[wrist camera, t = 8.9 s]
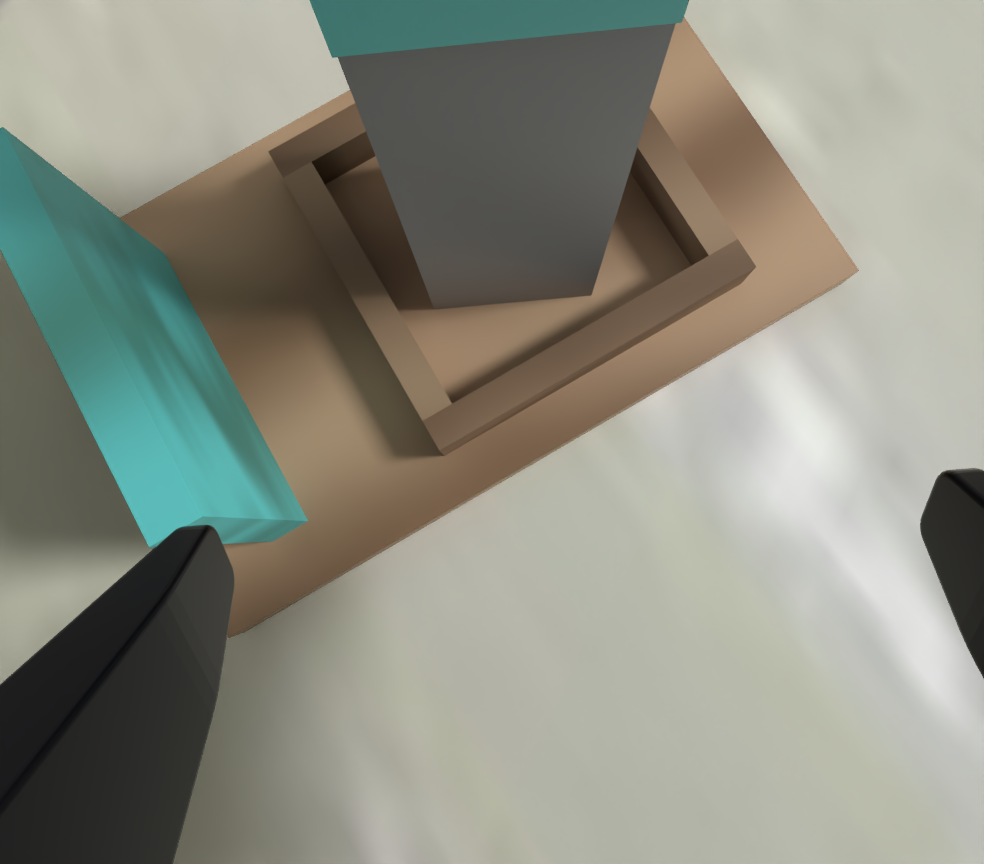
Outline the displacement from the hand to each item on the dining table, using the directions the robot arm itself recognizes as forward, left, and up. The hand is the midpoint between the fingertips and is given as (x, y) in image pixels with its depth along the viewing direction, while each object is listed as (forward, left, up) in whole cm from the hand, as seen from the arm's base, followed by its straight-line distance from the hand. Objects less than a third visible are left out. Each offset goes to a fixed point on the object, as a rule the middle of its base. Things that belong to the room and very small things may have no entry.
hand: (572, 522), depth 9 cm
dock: (+7, -1, -10) cm, 12 cm away
